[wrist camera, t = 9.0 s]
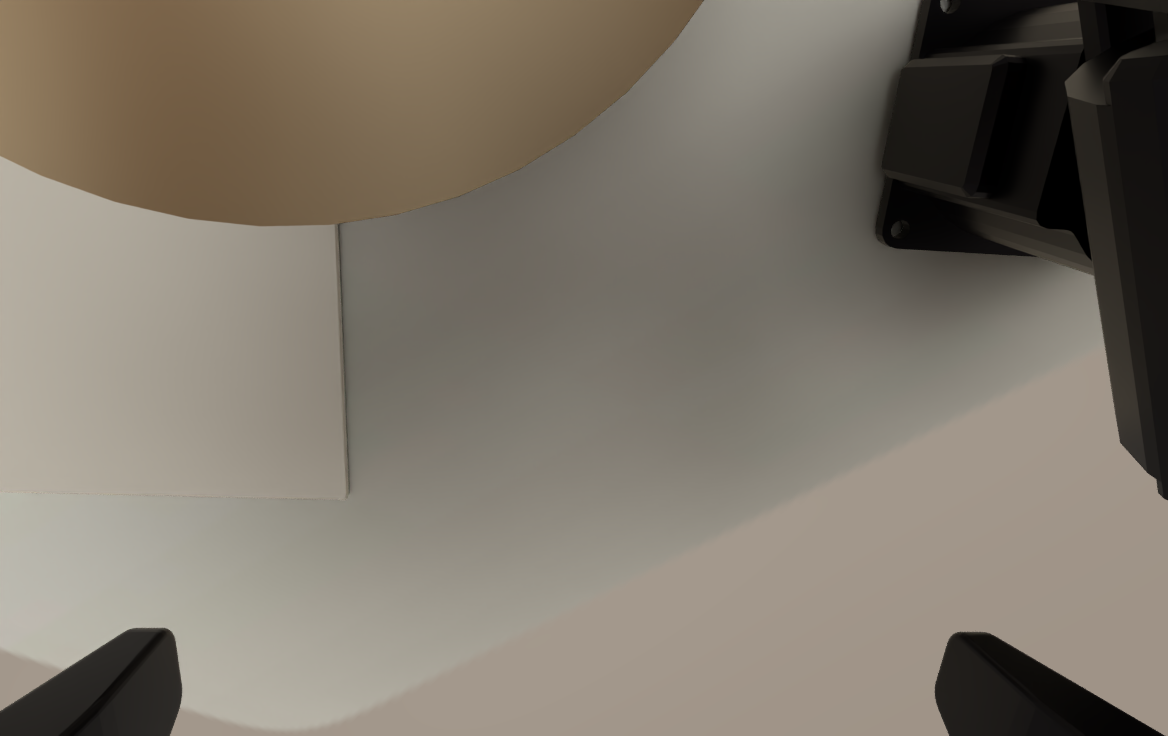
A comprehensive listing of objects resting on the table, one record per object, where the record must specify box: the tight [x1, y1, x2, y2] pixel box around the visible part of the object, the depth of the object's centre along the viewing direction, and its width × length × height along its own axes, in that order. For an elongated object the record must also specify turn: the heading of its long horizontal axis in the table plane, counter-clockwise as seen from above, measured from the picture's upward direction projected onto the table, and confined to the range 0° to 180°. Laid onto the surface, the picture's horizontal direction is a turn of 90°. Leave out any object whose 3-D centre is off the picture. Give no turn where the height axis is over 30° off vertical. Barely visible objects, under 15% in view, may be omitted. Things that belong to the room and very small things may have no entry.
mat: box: [0, 156, 349, 500], centre depth 19 cm, size 13×13×1 cm
